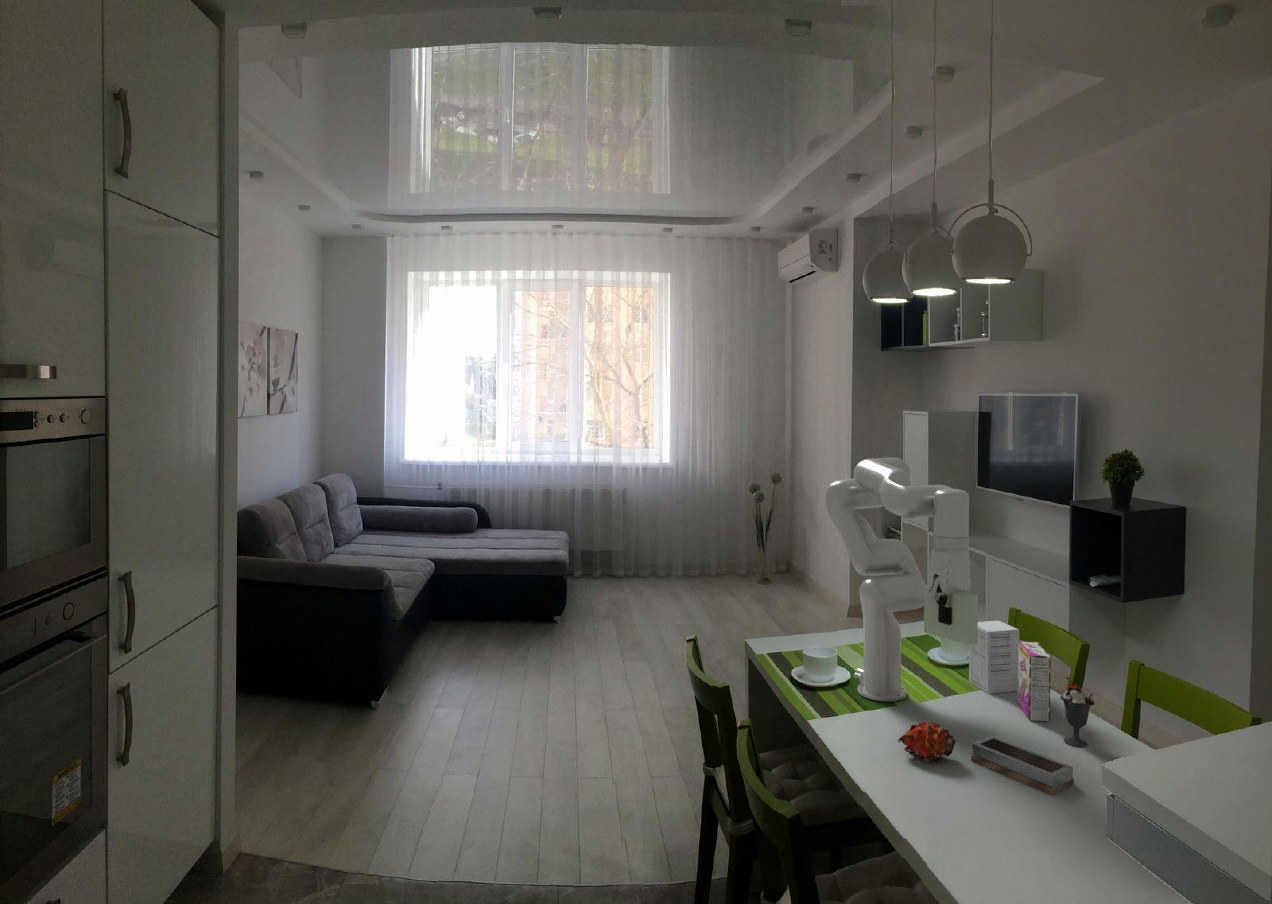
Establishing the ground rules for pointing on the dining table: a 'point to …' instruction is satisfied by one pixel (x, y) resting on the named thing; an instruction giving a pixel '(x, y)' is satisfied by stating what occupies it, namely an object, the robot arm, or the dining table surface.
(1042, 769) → the open rectangular box
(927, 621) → the pale green rectangular block
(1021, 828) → the dining table surface
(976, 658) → the supplement box
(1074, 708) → the sundae
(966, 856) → the dining table surface
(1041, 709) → the candy bar box
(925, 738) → the dragon fruit
